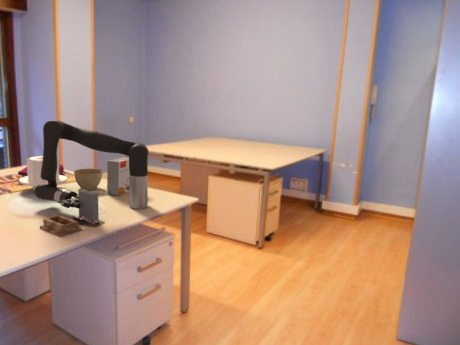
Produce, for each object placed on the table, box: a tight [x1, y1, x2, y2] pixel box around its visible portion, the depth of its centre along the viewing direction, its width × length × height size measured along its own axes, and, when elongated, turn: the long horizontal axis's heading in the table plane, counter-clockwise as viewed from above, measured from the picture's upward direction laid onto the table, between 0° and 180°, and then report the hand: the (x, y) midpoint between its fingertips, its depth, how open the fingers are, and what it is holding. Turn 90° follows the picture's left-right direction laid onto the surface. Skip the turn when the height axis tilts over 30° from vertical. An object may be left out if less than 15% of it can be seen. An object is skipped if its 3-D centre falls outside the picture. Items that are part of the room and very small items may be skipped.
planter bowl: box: [73, 167, 104, 191], centre depth 233 cm, size 16×16×11 cm
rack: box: [39, 214, 83, 238], centre depth 167 cm, size 15×10×4 cm, turn 57°
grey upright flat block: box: [77, 189, 99, 223], centre depth 177 cm, size 10×3×14 cm, turn 57°
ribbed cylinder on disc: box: [18, 155, 68, 191], centre depth 223 cm, size 25×25×19 cm
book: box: [17, 164, 64, 178], centre depth 252 cm, size 21×28×8 cm
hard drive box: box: [106, 157, 130, 197], centre depth 228 cm, size 16×8×20 cm, turn 161°
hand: (87, 204), depth 177 cm, fingers open, 8 cm apart
